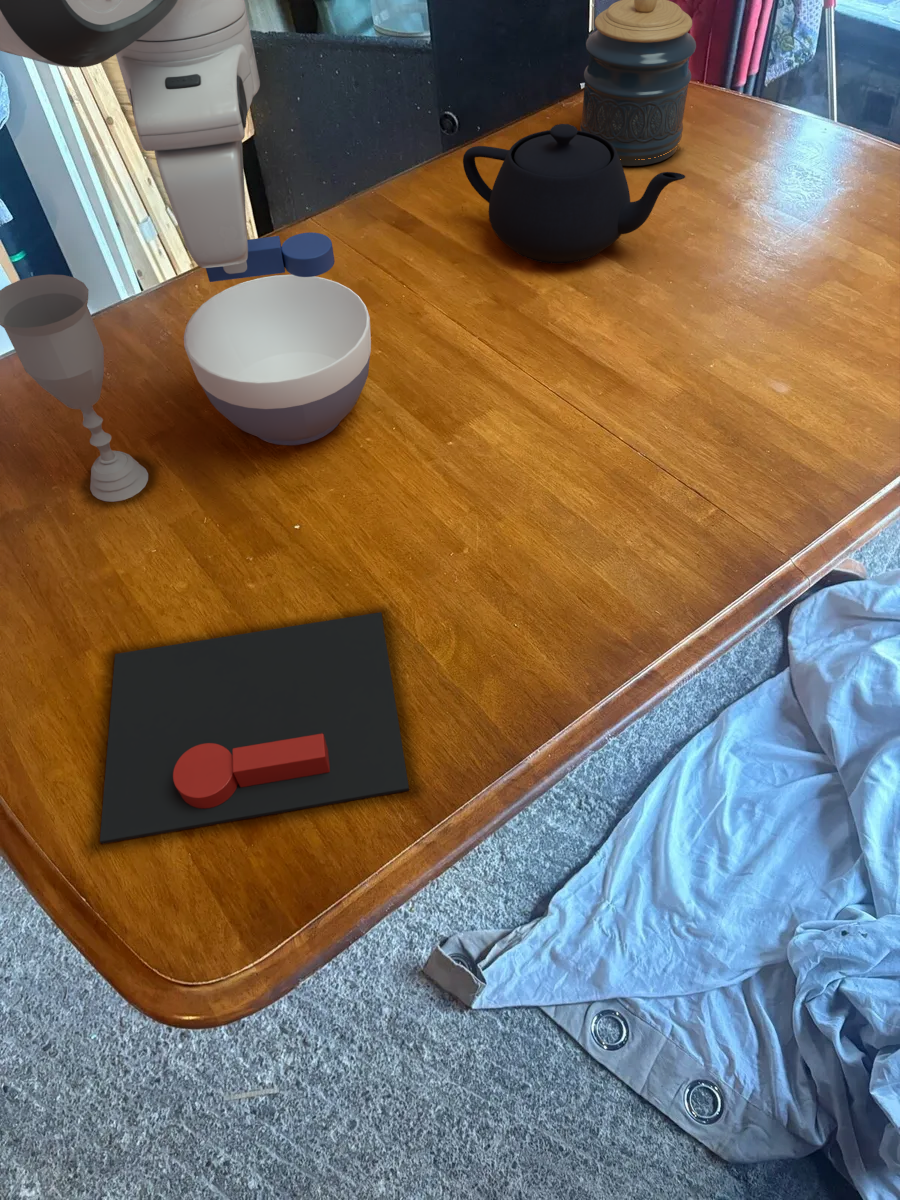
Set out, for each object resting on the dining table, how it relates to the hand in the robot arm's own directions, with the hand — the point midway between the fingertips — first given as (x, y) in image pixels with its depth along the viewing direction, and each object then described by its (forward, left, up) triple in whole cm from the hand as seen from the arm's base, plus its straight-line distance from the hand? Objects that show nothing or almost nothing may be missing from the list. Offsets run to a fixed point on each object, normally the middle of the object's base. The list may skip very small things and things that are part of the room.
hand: (236, 258), depth 70 cm
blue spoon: (+3, 0, -1) cm, 3 cm away
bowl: (+2, +1, -17) cm, 17 cm away
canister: (+48, +46, -17) cm, 69 cm away
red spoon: (-3, -37, -16) cm, 40 cm away
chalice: (-14, -5, -17) cm, 22 cm away
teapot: (+34, +25, -17) cm, 45 cm away
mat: (-3, -32, -17) cm, 36 cm away
